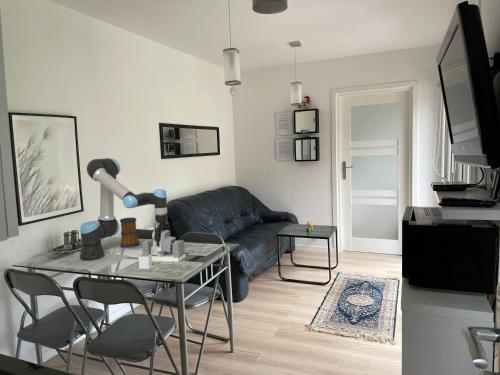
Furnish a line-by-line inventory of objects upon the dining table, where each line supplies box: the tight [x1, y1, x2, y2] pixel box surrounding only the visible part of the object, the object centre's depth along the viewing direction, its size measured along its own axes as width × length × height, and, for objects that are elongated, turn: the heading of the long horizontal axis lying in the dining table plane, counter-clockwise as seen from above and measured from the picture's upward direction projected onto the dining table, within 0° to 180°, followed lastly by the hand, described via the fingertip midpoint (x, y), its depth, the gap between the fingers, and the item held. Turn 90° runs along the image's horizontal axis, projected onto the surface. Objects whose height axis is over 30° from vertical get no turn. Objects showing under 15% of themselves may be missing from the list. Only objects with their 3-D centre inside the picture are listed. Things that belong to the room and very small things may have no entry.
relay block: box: [138, 253, 153, 270], centre depth 225 cm, size 6×5×8 cm
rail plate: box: [141, 238, 187, 263], centre depth 242 cm, size 25×11×12 cm, turn 74°
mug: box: [119, 216, 141, 249], centre depth 281 cm, size 19×14×20 cm
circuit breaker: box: [151, 230, 177, 257], centre depth 241 cm, size 8×14×15 cm, turn 77°
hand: (163, 248), depth 242 cm, fingers open, 10 cm apart
